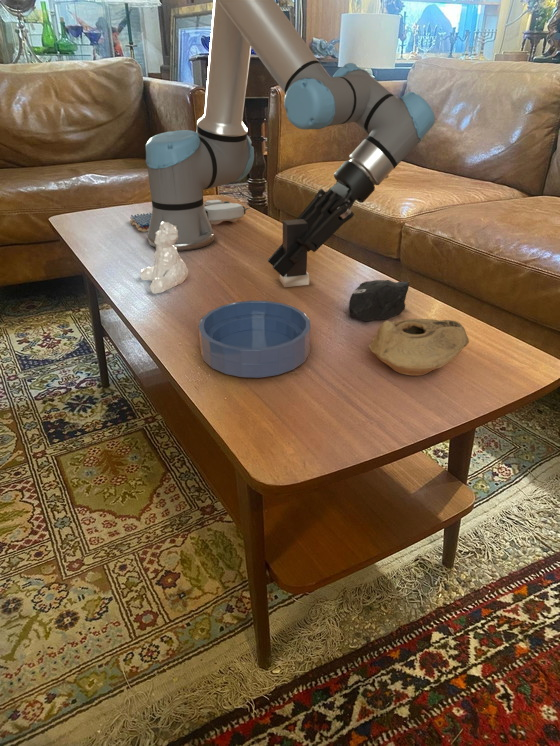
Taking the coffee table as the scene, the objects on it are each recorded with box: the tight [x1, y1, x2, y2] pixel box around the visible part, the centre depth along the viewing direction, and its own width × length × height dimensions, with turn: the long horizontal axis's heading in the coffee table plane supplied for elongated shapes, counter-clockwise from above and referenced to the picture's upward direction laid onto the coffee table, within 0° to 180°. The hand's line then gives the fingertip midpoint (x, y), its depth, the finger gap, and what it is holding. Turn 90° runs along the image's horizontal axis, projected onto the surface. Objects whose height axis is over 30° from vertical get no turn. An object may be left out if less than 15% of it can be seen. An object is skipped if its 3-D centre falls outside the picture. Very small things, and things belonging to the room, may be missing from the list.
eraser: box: [279, 218, 310, 288], centre depth 104 cm, size 5×4×12 cm
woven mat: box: [129, 212, 152, 233], centre depth 140 cm, size 10×11×2 cm
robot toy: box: [203, 199, 251, 225], centre depth 143 cm, size 12×4×15 cm
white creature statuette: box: [140, 221, 189, 295], centre depth 104 cm, size 10×9×12 cm
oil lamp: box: [368, 318, 470, 376], centre depth 78 cm, size 11×15×8 cm
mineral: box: [348, 279, 410, 322], centre depth 94 cm, size 10×9×6 cm
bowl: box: [198, 300, 311, 379], centre depth 82 cm, size 16×16×5 cm
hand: (275, 268), depth 105 cm, fingers closed on eraser, 3 cm apart
